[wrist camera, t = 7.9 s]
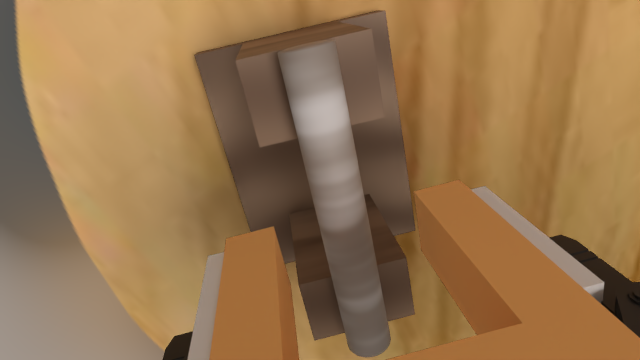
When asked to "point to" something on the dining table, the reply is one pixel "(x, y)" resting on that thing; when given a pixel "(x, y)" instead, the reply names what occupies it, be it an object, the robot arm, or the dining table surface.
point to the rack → (322, 166)
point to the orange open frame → (457, 276)
